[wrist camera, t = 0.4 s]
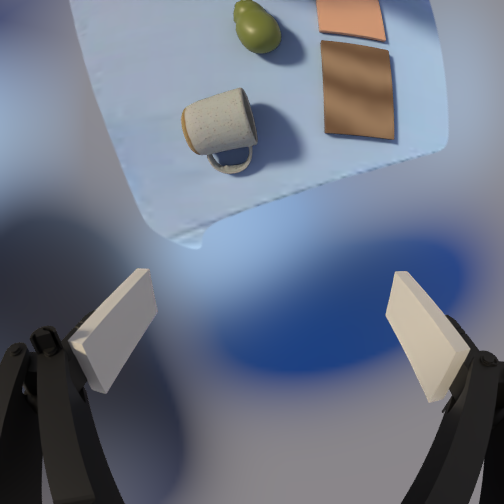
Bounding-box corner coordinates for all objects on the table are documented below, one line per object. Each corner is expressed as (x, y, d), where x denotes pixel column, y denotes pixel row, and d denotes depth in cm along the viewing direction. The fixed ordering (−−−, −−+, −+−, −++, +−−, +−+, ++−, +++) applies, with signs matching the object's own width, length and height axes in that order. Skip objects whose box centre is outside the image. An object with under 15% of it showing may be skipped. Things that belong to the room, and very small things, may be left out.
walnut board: (320, 43, 29) (321, 40, 28) (385, 52, 28) (388, 50, 27) (324, 133, 34) (326, 132, 33) (390, 139, 33) (394, 139, 32)
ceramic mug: (190, 110, 34) (171, 103, 27) (247, 93, 33) (240, 80, 26) (210, 179, 38) (195, 187, 31) (266, 164, 37) (264, 169, 30)
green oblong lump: (243, 46, 26) (220, 0, 25) (250, 64, 31) (228, 19, 30) (287, 33, 25) (259, -12, 24) (288, 52, 30) (263, 8, 29)
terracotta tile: (311, -31, 24) (311, -33, 23) (370, -22, 23) (372, -24, 22) (319, 32, 29) (320, 30, 28) (384, 41, 28) (385, 40, 27)
